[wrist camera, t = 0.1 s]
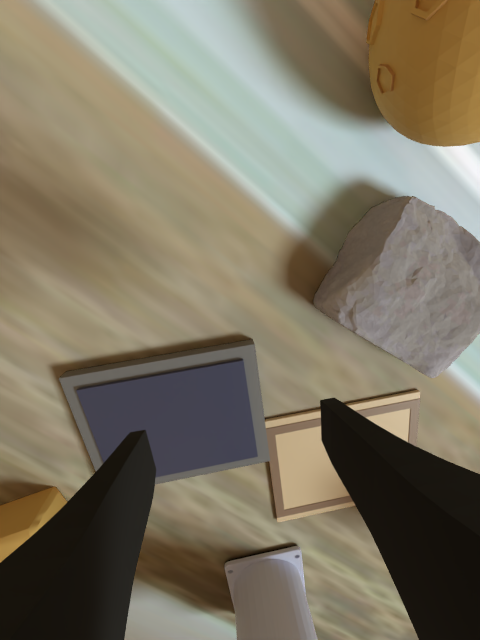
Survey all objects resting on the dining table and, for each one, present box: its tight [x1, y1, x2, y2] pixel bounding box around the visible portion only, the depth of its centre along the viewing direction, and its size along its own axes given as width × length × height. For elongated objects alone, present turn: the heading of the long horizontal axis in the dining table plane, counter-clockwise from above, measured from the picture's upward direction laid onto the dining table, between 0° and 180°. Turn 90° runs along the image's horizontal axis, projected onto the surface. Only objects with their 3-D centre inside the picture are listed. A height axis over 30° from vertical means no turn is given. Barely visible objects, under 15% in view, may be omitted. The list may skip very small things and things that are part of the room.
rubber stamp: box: [0, 487, 67, 562], centre depth 19 cm, size 10×6×12 cm, turn 18°
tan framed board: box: [265, 390, 420, 522], centre depth 25 cm, size 12×14×1 cm
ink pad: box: [59, 339, 270, 484], centre depth 21 cm, size 11×14×1 cm
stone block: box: [313, 196, 480, 378], centre depth 20 cm, size 12×5×10 cm
